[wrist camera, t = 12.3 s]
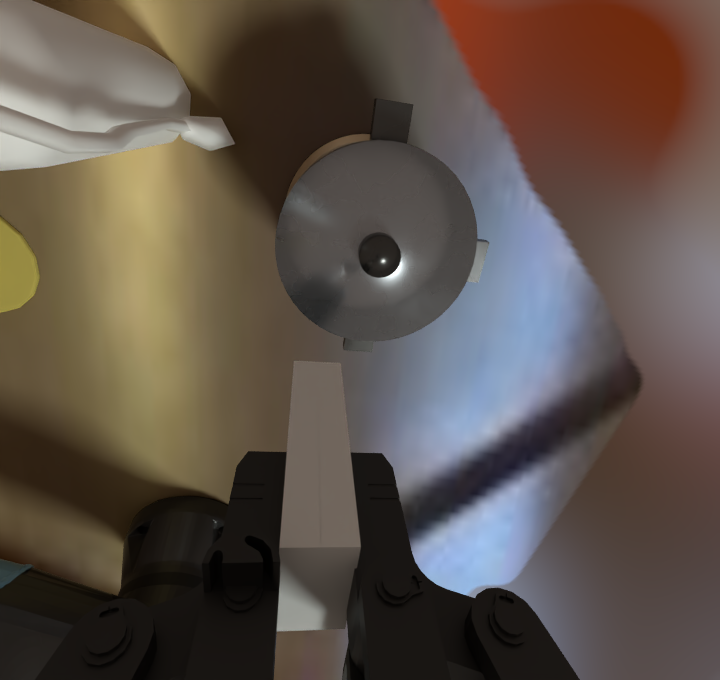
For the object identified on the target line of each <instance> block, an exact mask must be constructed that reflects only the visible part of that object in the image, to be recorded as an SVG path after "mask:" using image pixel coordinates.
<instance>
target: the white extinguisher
mask: <svg viewBox="0 0 720 680" xmlns="http://www.w3.org/2000/svg"><path fill="white" fill-rule="evenodd" d="M190 103H191V93H190V92H189V90H188V88H187V86H186V84H185V82H184V80H183V78H182V76H181V75H180V73H179V71H178V69H177V67H176V65H175V64H173V63H172V62H170V61H169V60H167V59H166V58H164V57H163V56H161V55H159V54H158V53H156V52H155V51H153V50H152V49H150V48H149V47H147V46H144V45H142V44H139V43H137V42H134V41H132V40H129V39H127V38H124V37H122V36H119V35H117V34H114V33H112V32H109V31H107V30H104V29H102V28H99V27H97V26H94V25H92V24H90V23H87V22H85V21H82V20H80V19H77V18H75V17H72V16H70V15H67V14H65V13H62V12H60V11H57V10H55V9H52V8H50V7H47V6H45V5H42V4H40V3H37V2H35V1H32V0H0V171H5V170H16V169H28V168H39V167H48V166H53V165H58V164H63V163H69V162H74V161H79V160H84V159H89V158H94V157H99V156H104V155H109V154H114V153H119V152H124V151H129V150H134V149H139V148H144V147H150V146H155V145H160V144H165V143H170V142H173V141H174V140H175V139H176V138H177V137H178V135H179V134H181V137H182V139H183V140H185V141H188V142H190V143H192V144H195V145H197V146H199V147H202V148H204V149H206V150H209V151H212V150H216V149H219V148H223V147H226V146H230V145H234V144H235V143H234V141H233V139H232V137H231V135H230V133H229V131H228V129H227V128H226V126H225V124H224V122H223V120H222V118H221V117H201V116H190Z"/></svg>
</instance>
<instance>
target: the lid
mask: <svg viewBox="0 0 720 680" xmlns="http://www.w3.org/2000/svg"><path fill="white" fill-rule="evenodd" d="M488 246H489V242H488V241H487V240H482V239H477V224H476V219H475V213H474V210H473V207H472V204H471V201H470V198H469V196H468V194H467V192H466V190H465V188H464V186H463V185H462V183H461V182H460V181H459V179H458V178H457V176H456V175H455V174H454V173H453V172H452V171H451V170H450V169H449V168H448V167H447V166H446V165H445V164H444V163H443V162H441V161H440V160H439V159H437V158H436V157H435V156H433V155H431V154H429V153H428V152H426V151H424V150H422V149H419V148H417V147H414V146H412V145H409V144H405V143H401V142H396V141H390V140H368V141H361V142H356V143H352V144H348V145H346V146H343V147H341V148H338V149H336V150H334V151H332V152H330V153H328V154H327V155H325V156H323V157H322V158H320V159H319V160H318V161H316V162H315V163H314V164H312V165H311V166H310V167H309V168H308V169H307V170H306V171H305V172H304V173H303V174H302V175H301V177H300V178H299V179H298V181H297V182H296V183H295V185H294V186H293V188H292V189H291V191H290V193H289V195H288V196H287V198H286V200H285V203H284V205H283V208H282V211H281V213H280V217H279V221H278V225H277V230H276V239H275V252H276V261H277V267H278V271H279V274H280V277H281V281H282V283H283V285H284V287H285V289H286V291H287V293H288V295H289V296H290V298H291V299H292V301H293V303H294V304H295V305H296V306H297V307H298V309H299V310H300V311H301V312H302V313H303V314H304V315H305V316H306V317H307V318H308V319H310V320H311V321H312V322H314V323H315V324H316V325H318V326H319V327H321V328H323V329H325V330H326V331H328V332H330V333H333V334H335V335H338V336H340V337H344V338H348V339H352V340H359V341H385V340H391V339H395V338H400V337H403V336H406V335H409V334H411V333H413V332H415V331H418V330H420V329H422V328H423V327H425V326H427V325H428V324H430V323H431V322H433V321H434V320H435V319H437V318H438V317H439V316H440V315H442V314H443V313H444V312H445V311H446V310H447V309H448V308H449V307H450V306H451V304H452V303H453V302H454V301H455V299H456V298H457V297H458V295H459V294H460V292H461V291H462V289H463V287H464V286H465V284H466V282H477V283H478V281H479V278H480V274H481V271H482V267H483V264H484V260H485V256H486V253H487V249H488Z"/></svg>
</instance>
